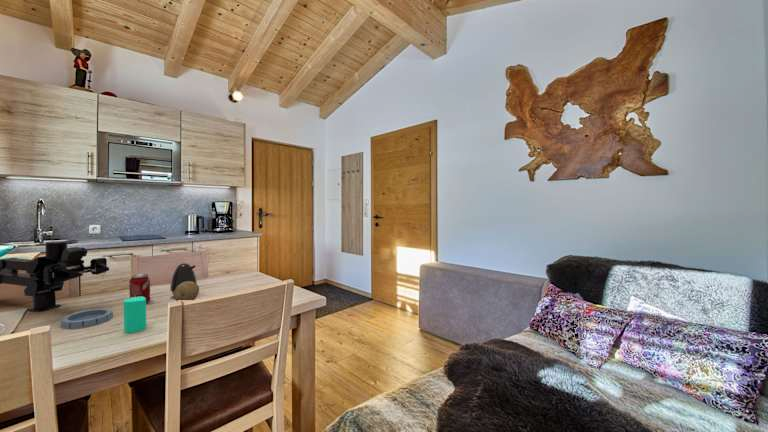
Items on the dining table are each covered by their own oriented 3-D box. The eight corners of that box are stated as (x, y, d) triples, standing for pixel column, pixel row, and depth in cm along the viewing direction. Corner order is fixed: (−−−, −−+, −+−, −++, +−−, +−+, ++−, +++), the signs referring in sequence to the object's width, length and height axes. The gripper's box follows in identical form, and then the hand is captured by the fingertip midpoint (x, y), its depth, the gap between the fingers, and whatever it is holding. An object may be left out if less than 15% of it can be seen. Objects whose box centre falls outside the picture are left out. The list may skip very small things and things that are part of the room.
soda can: (138, 306, 122) (138, 278, 121) (125, 305, 123) (125, 276, 122) (154, 301, 128) (154, 274, 127) (141, 300, 129) (141, 273, 129)
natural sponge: (181, 309, 120) (180, 285, 119) (168, 305, 124) (168, 282, 123) (203, 303, 128) (203, 280, 127) (191, 299, 132) (191, 277, 131)
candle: (127, 334, 98) (127, 298, 97) (120, 329, 101) (120, 295, 100) (149, 328, 103) (149, 294, 102) (142, 323, 106) (141, 291, 105)
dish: (50, 326, 102) (50, 320, 102) (94, 312, 114) (94, 307, 114) (80, 330, 99) (80, 324, 99) (121, 316, 112) (121, 310, 112)
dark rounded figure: (187, 299, 131) (187, 266, 131) (164, 299, 132) (164, 265, 131) (202, 292, 142) (202, 261, 141) (180, 292, 142) (180, 260, 141)
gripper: (29, 251, 105) (64, 255, 102) (90, 244, 123) (121, 247, 120) (30, 282, 105) (64, 286, 103) (90, 270, 124) (121, 273, 121)
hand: (95, 271), depth 112 cm, fingers open, 9 cm apart
